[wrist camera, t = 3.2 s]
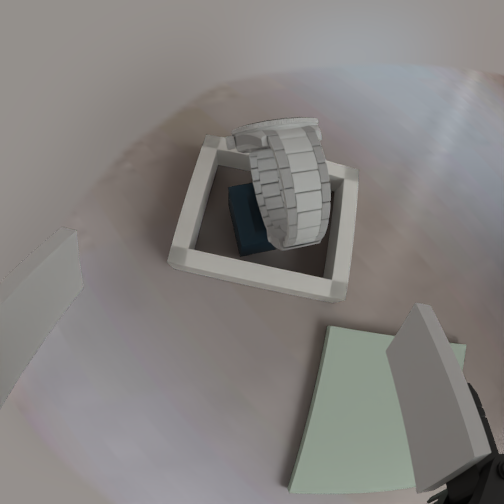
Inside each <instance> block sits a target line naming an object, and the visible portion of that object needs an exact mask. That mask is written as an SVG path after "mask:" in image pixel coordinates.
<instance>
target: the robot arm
mask: <svg viewBox="0 0 504 504" xmlns="http://www.w3.org/2000/svg"><path fill="white" fill-rule="evenodd" d="M83 288H84V285H83V279H82V272H81V265H80V257H79V248H78V239H77V230H73V229H69V228H65V227H61V228H60V229H58V230H57V231H56V232H55V233H54V234H52V235H51V236H50V237H49V238H48V239H47V240H45V241H44V242H43V243H42V244H41V245H40V246H38V247H37V248H36V249H35V250H34V251H33V252H32V253H31V254H29V255H28V256H27V257H26V258H25V259H24V260H23V261H22V262H21V263H20V264H19V265H17V266H16V267H15V268H14V269H13V270H12V271H11V272H10V273H9V274H8V275H7V276H6V277H5V278H4V279H3V280H2V281H1V282H0V409H1V407H2V405H3V404H4V402H5V400H6V399H7V397H8V395H9V394H10V392H11V390H12V389H13V387H14V386H15V384H16V382H17V381H18V379H19V378H20V376H21V374H22V373H23V371H24V370H25V368H26V367H27V365H28V364H29V362H30V361H31V359H32V358H33V356H34V355H35V353H36V352H37V350H38V349H39V347H40V346H41V345H42V343H43V342H44V340H45V339H46V337H47V336H48V335H49V333H50V332H51V330H52V329H53V328H54V326H55V325H56V324H57V322H58V321H59V319H60V318H61V317H62V315H63V314H64V313H65V311H66V310H67V309H68V308H69V306H70V305H71V304H72V302H73V301H74V300H75V298H76V297H77V296H78V295H79V293H80V292H81V291H82V290H83ZM386 355H387V358H388V362H389V365H390V369H391V373H392V376H393V380H394V384H395V388H396V392H397V396H398V400H399V404H400V408H401V412H402V417H403V421H404V426H405V430H406V435H407V440H408V445H409V450H410V455H411V461H412V466H413V472H414V478H415V485H416V491H417V493H422V492H427V491H432V490H435V489H437V488H439V487H440V486H442V485H444V484H445V483H446V485H447V489H445V490H443V491H441V492H440V493H438V494H436V495H434V496H432V497H431V498H430V499H429V500H428V501H427V503H430V502H432V501H434V500H436V499H438V498H439V499H438V501H436V502H435V503H433V504H504V454H499V453H498V450H497V447H496V444H495V441H494V438H493V435H492V432H491V429H490V426H489V423H488V420H487V418H485V412H484V410H483V408H482V404H481V402H480V399H479V397H478V394H477V393H476V391H475V390H474V389H473V387H472V386H471V385H470V383H467V382H466V380H465V377H464V375H463V372H462V370H461V368H460V366H459V363H458V361H457V359H456V356H455V354H454V352H453V350H452V348H451V346H450V343H449V341H448V339H447V337H446V335H445V333H444V331H443V329H442V327H441V325H440V323H439V321H438V319H437V317H436V315H435V313H434V311H433V309H432V307H431V305H427V304H421V303H415V304H414V306H413V308H412V310H411V311H410V313H409V315H408V316H407V318H406V320H405V321H404V323H403V325H402V326H401V328H400V329H399V331H398V333H397V334H396V336H395V337H394V339H393V340H392V342H391V343H390V345H389V346H388V348H387V349H386Z"/></svg>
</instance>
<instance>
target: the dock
mask: <svg viewBox="0 0 504 504" xmlns="http://www.w3.org/2000/svg"><path fill="white" fill-rule="evenodd" d="M325 163H327V167H328V173H329V183H330V190H331V191H334V192H335V193H334V202H333V210H332V219H331V226H330V234H329V241H328V248H327V255H326V262H325V268H324V275H323V278H320V277H316V276H311V275H306V274H302V273H297V272H293V271H288V270H283V269H279V268H274V267H269V266H265V265H260V264H256V263H251V262H247V261H242V260H238V259H233V258H229V257H224V256H219V255H215V254H211V253H206V252H202V251H197V250H194V249H195V246H196V242H197V238H198V234H199V230H200V227H201V223H202V219H203V216H204V212H205V209H206V205H207V201H208V198H209V194H210V191H211V187H212V184H213V181H214V177H215V174H216V170H217V167H218V165H220V166H225V167H230V168H235V169H240V170H245V171H250V172H251V167H250V161H249V153H245V154H244V153H240V152H238V151H237V149H236V147H235V149H231V150H228V148H227V145H226V138H225V137H219V136H213V135H208V134H206V137H205V140H204V142H203V145H202V148H201V151H200V154H199V157H198V160H197V163H196V166H195V169H194V172H193V175H192V178H191V181H190V184H189V188H188V191H187V194H186V197H185V200H184V204H183V207H182V210H181V214H180V217H179V220H178V224H177V227H176V231H175V234H174V238H173V241H172V245H171V249H170V252H169V256H168V260H167V262H168V263H169V264H170V265H171V267H172V268H173V269H177V270H181V271H186V272H190V273H194V274H198V275H203V276H207V277H212V278H216V279H220V280H225V281H229V282H234V283H238V284H243V285H247V286H252V287H257V288H261V289H266V290H271V291H276V292H280V293H285V294H290V295H295V296H300V297H305V298H310V299H315V300H320V301H325V302H330V303H337V302H341V301H344V300H346V293H347V286H348V279H349V272H350V265H351V257H352V248H353V239H354V230H355V220H356V209H357V196H358V182H359V170H358V169H355V168H351V167H348V166H344V165H341V164H337V163H334V162H330V161H326V162H325ZM272 170H273V169H272ZM265 171H267V170H265ZM311 171H314V170H311ZM259 172H260V171H259ZM303 172H306V171H303ZM296 173H299V172H296ZM291 174H292V173H291ZM323 183H327V182H323Z"/></svg>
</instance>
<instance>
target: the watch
mask: <svg viewBox="0 0 504 504" xmlns="http://www.w3.org/2000/svg"><path fill="white" fill-rule="evenodd" d="M317 124H318V119H316V118H310V117H295V118H282V119H274V120H267V121H262V122H257V123H252V124H248V125H245V126H242V127H238V128H236V129H234V130H232V136H226V145H227V148H228V150H231V149H235V147H236V149H237V151H238V152H240V153H244V154H245V153H249V161H250V167H251V175H252V180H253V183H249V184H243V185H237V186H232V187H229V209H230V213H231V218H232V222H233V227H234V231H235V236H236V240H237V245H238V249H239V254H240V257H241V256H245V255H250V254H255V253H260V252H265V251H270V250H275V249H279V250H282V251H285V250H290V249H295V248H300V247H304V246H309V245H314V244H318V243H320V242H321V239H322V238H323V237H324V235H325V233H326V230H327V226H328V222H329V219H328V218H329V215H330V200H331V190H330V183H329V173H328V167H327V163H325V162H326V159H325V155H324V152H323V149H322V146H320V141H319V140H322V135H321V131H320V129H319V127H318V126H317ZM233 136H234V137H233ZM272 169H273V170H272ZM265 170H267V171H265ZM311 170H314V171H311ZM259 171H260V172H259ZM303 171H306V172H303ZM296 172H299V173H296ZM291 173H292V174H291ZM257 180H259V181H257ZM323 182H327V183H323ZM312 190H315V191H312Z"/></svg>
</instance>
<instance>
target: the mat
mask: <svg viewBox="0 0 504 504" xmlns="http://www.w3.org/2000/svg"><path fill="white" fill-rule="evenodd" d="M394 337H395V336H392V335H385V334H378V333H371V332H365V331H359V330H352V329H346V328H340V327H335V326H327V331H326V336H325V342H324V347H323V352H322V357H321V361H320V366H319V371H318V375H317V380H316V384H315V389H314V393H313V397H312V402H311V406H310V410H309V414H308V418H307V422H306V426H305V430H304V433H303V437H302V441H301V444H300V448H299V452H298V455H297V459H296V462H295V465H294V469H293V472H292V475H291V479H290V482H289V485H288V488H287V489H288V491H289V493H300V494H352V493H369V492H380V491H390V490H398V489H406V488H412V487H416V485H415V478H414V472H413V466H412V461H411V455H410V450H409V445H408V440H407V435H406V430H405V426H404V421H403V417H402V412H401V408H400V404H399V400H398V396H397V392H396V388H395V384H394V380H393V376H392V373H391V369H390V365H389V362H388V358H387V355H386V349H387V348H388V346H389V345H390V343H391V342H392V340H393V339H394ZM450 346H451V348H452V350H453V352H454V354H455V356H456V359H457V361H458V363H459V366H460V368H461V370H463V364H464V358H465V352H466V345H464V344H455V343H450Z"/></svg>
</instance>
